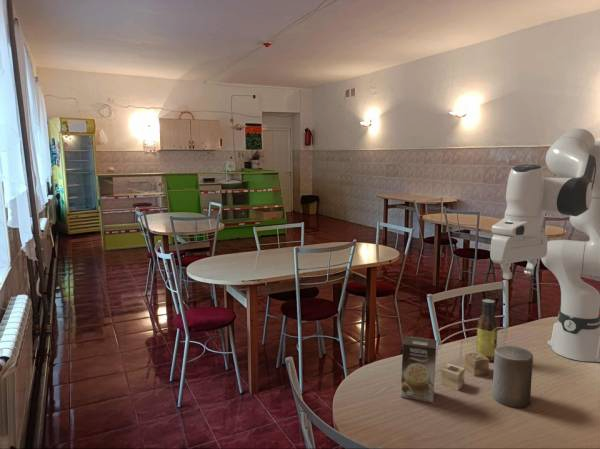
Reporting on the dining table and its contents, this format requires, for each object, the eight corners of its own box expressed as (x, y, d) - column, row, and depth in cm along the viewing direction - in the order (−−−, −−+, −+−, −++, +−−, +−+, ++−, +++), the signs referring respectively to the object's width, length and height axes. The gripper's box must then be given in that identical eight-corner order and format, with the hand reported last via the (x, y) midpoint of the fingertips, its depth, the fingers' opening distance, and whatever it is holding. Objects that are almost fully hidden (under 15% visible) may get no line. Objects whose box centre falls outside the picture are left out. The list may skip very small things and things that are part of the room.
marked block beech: (447, 378, 134) (448, 362, 133) (463, 384, 130) (464, 367, 130) (440, 385, 130) (441, 368, 129) (457, 390, 127) (458, 374, 126)
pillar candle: (538, 404, 119) (542, 352, 117) (510, 411, 116) (514, 357, 114) (510, 387, 128) (513, 338, 126) (483, 393, 125) (486, 343, 123)
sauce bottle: (498, 362, 144) (501, 304, 141) (477, 361, 145) (481, 303, 142) (493, 354, 150) (497, 298, 147) (474, 352, 151) (477, 297, 148)
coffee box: (399, 397, 123) (401, 343, 121) (402, 386, 129) (403, 334, 127) (433, 403, 120) (435, 348, 118) (434, 391, 126) (436, 338, 124)
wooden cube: (478, 367, 141) (479, 351, 140) (488, 374, 136) (489, 358, 135) (464, 368, 140) (465, 353, 139) (474, 376, 135) (475, 360, 134)
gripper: (533, 222, 124) (529, 270, 126) (487, 226, 114) (483, 278, 116) (555, 225, 119) (551, 274, 121) (509, 229, 109) (505, 284, 110)
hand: (518, 276), depth 118 cm, fingers open, 8 cm apart
